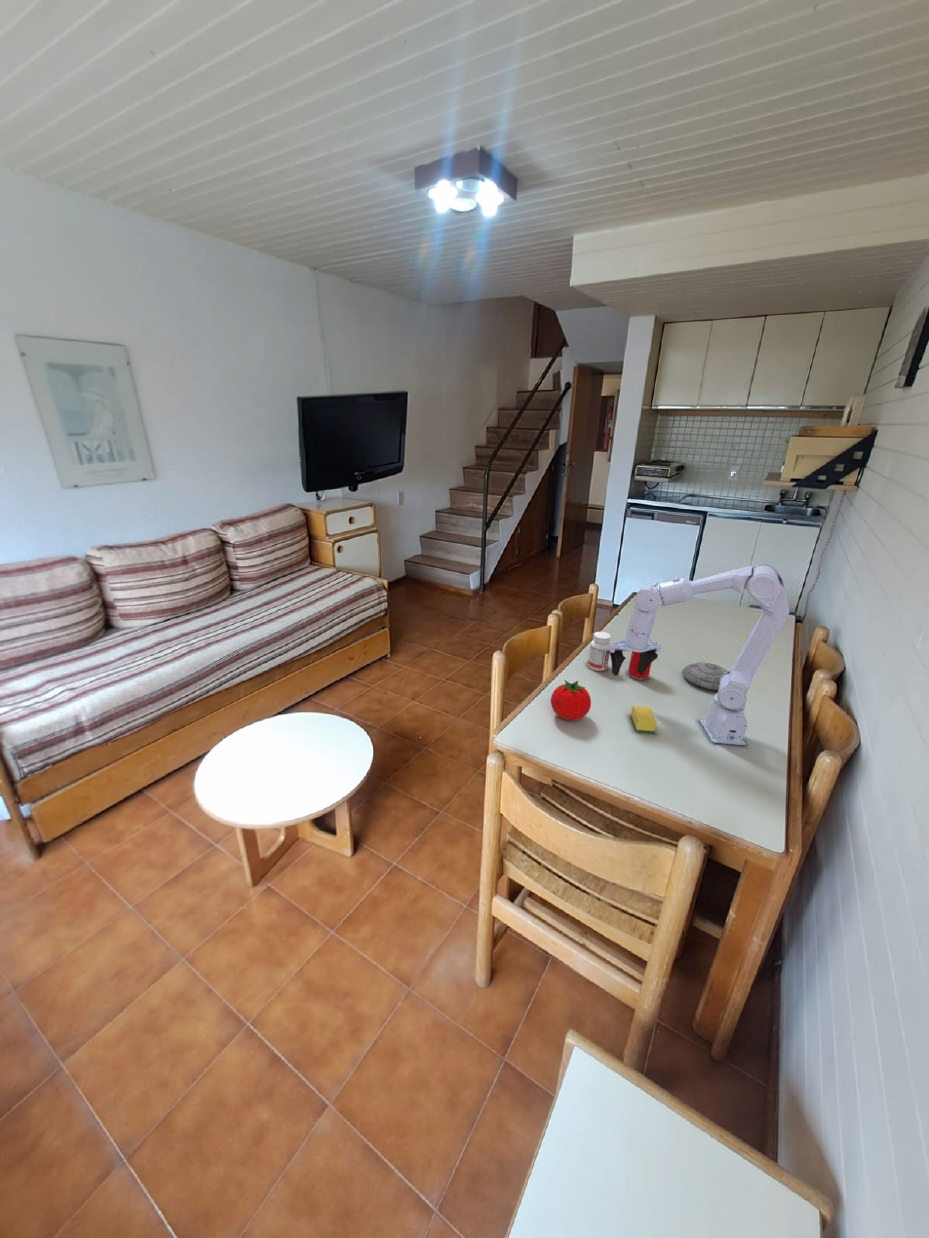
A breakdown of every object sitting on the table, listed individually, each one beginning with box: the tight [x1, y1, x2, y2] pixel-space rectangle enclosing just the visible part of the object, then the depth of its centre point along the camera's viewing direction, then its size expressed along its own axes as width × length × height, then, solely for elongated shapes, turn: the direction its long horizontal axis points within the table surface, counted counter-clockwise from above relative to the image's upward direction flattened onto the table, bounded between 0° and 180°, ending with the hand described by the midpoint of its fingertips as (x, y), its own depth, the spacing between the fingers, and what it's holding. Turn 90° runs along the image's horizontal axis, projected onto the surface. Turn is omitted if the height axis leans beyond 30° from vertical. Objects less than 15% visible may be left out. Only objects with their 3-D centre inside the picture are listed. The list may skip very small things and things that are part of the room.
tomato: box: [550, 679, 592, 721], centre depth 130 cm, size 10×10×10 cm
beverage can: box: [627, 638, 654, 681], centre depth 151 cm, size 6×6×12 cm
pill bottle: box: [587, 631, 611, 672], centre depth 156 cm, size 6×6×11 cm
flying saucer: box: [681, 662, 729, 691], centre depth 151 cm, size 15×15×6 cm
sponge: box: [630, 705, 657, 734], centre depth 129 cm, size 7×4×4 cm, turn 174°
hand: (627, 673), depth 135 cm, fingers open, 7 cm apart
